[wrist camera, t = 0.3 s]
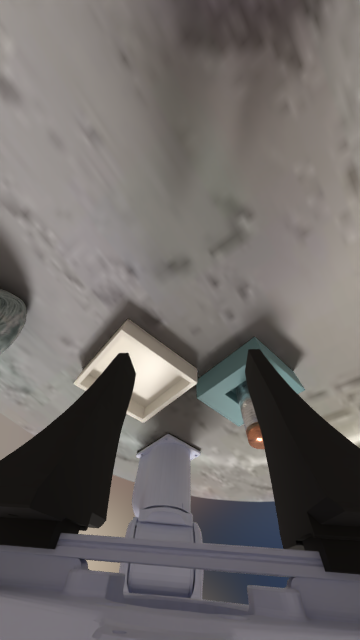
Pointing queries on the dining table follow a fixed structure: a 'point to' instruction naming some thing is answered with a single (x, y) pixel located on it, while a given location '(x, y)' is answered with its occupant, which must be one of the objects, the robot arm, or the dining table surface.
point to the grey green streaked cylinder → (10, 318)
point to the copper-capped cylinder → (249, 416)
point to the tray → (143, 370)
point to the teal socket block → (237, 380)
